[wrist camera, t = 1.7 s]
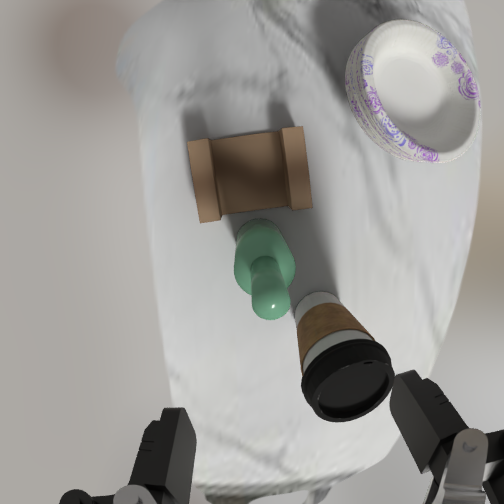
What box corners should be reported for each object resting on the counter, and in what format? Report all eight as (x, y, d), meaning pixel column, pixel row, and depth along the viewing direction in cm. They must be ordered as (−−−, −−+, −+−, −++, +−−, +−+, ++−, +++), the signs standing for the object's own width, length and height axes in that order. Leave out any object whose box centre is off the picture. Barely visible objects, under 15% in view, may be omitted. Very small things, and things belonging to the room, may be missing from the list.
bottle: (233, 222, 32) (224, 271, 18) (279, 215, 32) (308, 260, 18) (240, 265, 34) (237, 341, 19) (284, 259, 33) (312, 330, 19)
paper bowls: (457, 96, 28) (496, 89, 20) (412, 185, 31) (452, 194, 24) (368, 19, 25) (396, -8, 17) (310, 108, 29) (330, 92, 21)
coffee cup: (356, 282, 35) (414, 353, 20) (342, 341, 37) (382, 422, 23) (288, 279, 34) (317, 358, 20) (280, 340, 37) (297, 431, 22)
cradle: (192, 143, 29) (187, 141, 26) (296, 129, 29) (302, 126, 26) (204, 217, 32) (200, 223, 29) (305, 203, 32) (312, 207, 29)
